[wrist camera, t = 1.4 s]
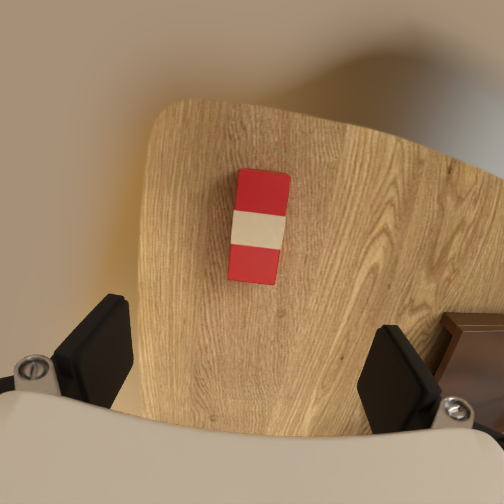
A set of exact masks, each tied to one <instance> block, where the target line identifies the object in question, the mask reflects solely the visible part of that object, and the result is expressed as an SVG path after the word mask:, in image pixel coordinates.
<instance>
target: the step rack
mask: <svg viewBox="0 0 504 504" xmlns="http://www.w3.org/2000/svg"><path fill="white" fill-rule="evenodd" d="M440 322H441V323H442V324H443V326H444V327H445V328H446V329H447V330H448V331H449V332H450V333H451V334H452V335H453V336H452V339H451V341H450V343H449V346H448V348H447V350H446V352H445V354H444V357H443V359H442V361H441V363H440V365H439V367H438V369H437V371H436V373H435V375H434V379H435V380H436V382H437V383H438V385H439V386H440V388H441V389H442V393H441V394H440V396H441V398H442V399H443V398H445V397H448V396H456V397H460V398H462V399H464V400H466V401H467V402H468V403H469V404H470V405H471V406H472V408H473V410H474V421H475V422H477V423H479V424H481V425H484V426H486V427H488V428H490V429H493V430H495V431H497V432H500V433H502V434H504V314H481V313H453V312H444V313H443V316H442V319H441V321H440Z"/></svg>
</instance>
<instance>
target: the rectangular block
mask: <svg viewBox="0 0 504 504" xmlns="http://www.w3.org/2000/svg"><path fill="white" fill-rule="evenodd" d="M290 179H291V177H290V176H289V175H288V174H286V173H279V172H272V171H264V170H256V169H247V168H242V169H240V170H239V175H238V184H237V193H236V202H235V209H234V212H233V222H232V231H231V241H230V243H231V249H230V258H229V268H228V280H233V281H241V282H249V283H258V284H266V285H275V280H276V274H277V268H278V261H279V255H280V250H281V247H282V241H283V234H284V227H285V221H286V216H285V215H286V208H287V201H288V194H289V187H290Z"/></svg>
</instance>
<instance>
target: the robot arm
mask: <svg viewBox="0 0 504 504" xmlns="http://www.w3.org/2000/svg"><path fill="white" fill-rule="evenodd" d="M133 360H134V359H133V350H132V339H131V328H130V315H129V304H128V301H127V300H125V299H124V297H123V296H121V295H115V294H108V295H107V296H106V297H105V298H104V299H103V300H102V301H101V302H100V303H99V304H98V305H97V306H96V307H95V308H94V309H93V310H92V311H91V312H90V313H89V314H88V315H87V316H86V318H85V319H84V320H83V321H82V322H81V323H80V324H79V325H78V326H77V327H76V328H75V329H74V330H73V332H72V333H71V334H70V335H69V336H68V337H67V338H66V339H65V340H64V341H63V343H61V345H60V346H59V347H58V348H57V349H56V350H55V351H54V354H53V356H52V357H51V358H50V359H49V358H48V357H46V356H44V355H29V356H26V357H24V358H22V359H21V360H19V361H18V362H17V364H16V365H15V367H14V375H13V376H9V377H4V378H0V504H504V434H502V433H500V432H497V431H495V430H493V429H490V428H488V427H486V426H484V425H481V424H479V423H477V422H475V421H474V410H473V408H472V406H471V405H470V404H469V403H468V402H467V401H466V400H464V399H462V398H460V397H456V396H448V397H445V398H443V399H442V398H441V396H440V394H441V393H442V389H441V388H440V386H439V385H438V383H437V382H436V380H435V379H434V377H433V376H432V374H431V373H430V371H429V370H428V368H427V367H426V365H425V364H424V362H423V361H422V359H421V358H420V356H419V355H418V354H417V352H416V351H415V349H414V348H413V346H412V345H411V343H410V342H409V341H408V339H407V338H406V336H405V335H404V334H403V332H402V331H401V329H400V328H399V327H398V326H397V325H383V326H382V327H381V328H379V329H377V331H376V334H375V337H374V340H373V343H372V345H371V348H370V351H369V354H368V357H367V359H366V362H365V365H364V367H363V370H362V372H361V375H360V377H359V380H358V383H357V390H358V393H359V396H360V399H361V401H362V404H363V407H364V410H365V413H366V416H367V418H368V421H369V424H370V427H371V430H372V433H373V435H358V436H332V437H301V436H273V435H258V434H245V433H235V432H226V431H218V430H210V429H203V428H196V427H190V426H184V425H178V424H172V423H167V422H162V421H157V420H152V419H148V418H143V417H139V416H135V415H130V414H126V413H122V412H119V411H115V410H111V409H110V408H111V406H112V404H113V402H114V400H115V398H116V396H117V394H118V392H119V390H120V389H121V387H122V385H123V383H124V381H125V379H126V377H127V375H128V373H129V372H130V370H131V368H132V365H133Z"/></svg>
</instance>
